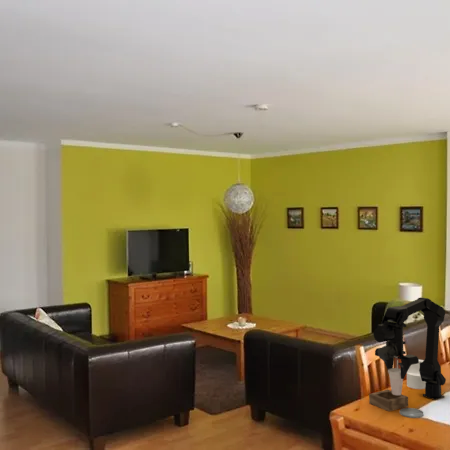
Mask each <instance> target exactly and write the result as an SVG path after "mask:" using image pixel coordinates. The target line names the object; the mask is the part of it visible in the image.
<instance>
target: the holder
mask: <svg viewBox="0 0 450 450" xmlns="http://www.w3.org/2000/svg"><path fill="white" fill-rule="evenodd" d="M368 396H369V399H368V403H369V404H370V405H372V406H374V407H377V408H378V409H381V410H384V411H387V412H392V411H396V410H400V409H402V408H409V396H407V395H405V394H402V393H401V395H393V394H392V391H391V390H390V389H385V390H380V391H376V392H372V393H369V394H368Z"/></svg>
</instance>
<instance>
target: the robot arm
mask: <svg viewBox="0 0 450 450" xmlns="http://www.w3.org/2000/svg"><path fill="white" fill-rule="evenodd" d="M420 311H421V313H422V314H423V319H424V322H425V323H426V341H425V354H424V356H425V357H424V359H423V360H424V361H423V362H420V369H419V372H420V376H421V380H422V381H425V382H426V386H425V389H424V390H425V391H424V392H425V393H423V394H422V396H423V397H426V398H429V399H432V400H435V401H436V400H438V399H439V400H440V399H443V398H445V395H442V386H444V385H445V384H446V381H447V379H446V377H445V376H444V375H443V373H442V368H441V364H440V363H439V361H438V357H439V355H438V353H439V339H440V338H439V337H440V326H441V325H443V322H445V321H444V320H445V316H446V310H445V309H444V307H443V306H441V305H439V304H437V303H436V302H434V301H432V300H431V299H430V298H427V297H418V298H417V299H414V300H413V301H412V300H411V302H408V303H405V304H403V305H401V306H390V307H388V308H387V309H386V310H385V313H384V315H383V317H382V319H381V322H380V324H377V327H376V328H375V329H374V330H373V333H372V334H373V338H374V340H375V341H376V342H377V343H384V342H385V345H384V346H382V347H378V348H376V349H375V350H374V355H375V356H376V357H379V359H380V360H382V361H383V362H384V364H385V366H386V369H387V371H388V370H389V369H391V368H394V363H395V359H396V360H400V362H398V366H399V367H400V369H401V379H403V380H404V379H405V378H406V376H407V371H408V369H409V368H410V366H411V365H413V364H417V363H419V360H420V359H419V357H418V356H417V355H414V354H406V350H405V351H404V345H406V344H407V343H406V341H405V340H404V328H407V324H406V323H404V322H406V321H407V320H408V319H409V317H410V316H412V315H413V314H416V313H418V312H420Z"/></svg>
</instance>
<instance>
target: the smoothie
mask: <svg viewBox="0 0 450 450" xmlns="http://www.w3.org/2000/svg"><path fill="white" fill-rule="evenodd" d="M398 363H399V359H396V367H395V368H394V367H393V368H391V369H389V370H387V373H388V376H389V382H390V383H389V384H390V388H391V391H392V394H393V395H401V394H402V392H403V382H404V379H401V368H399V364H398Z"/></svg>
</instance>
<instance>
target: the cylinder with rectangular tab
mask: <svg viewBox="0 0 450 450" xmlns="http://www.w3.org/2000/svg"><path fill="white" fill-rule="evenodd" d="M423 361H424V359H419V363H417V364H413V365H411V366H410V368H409V369H408V371H407V373H406V386H407V387H408V388H410V389H413V390H425V386H426V382H425V381H422V380H421V376H420V372H419V369H420V362H423Z"/></svg>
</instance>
